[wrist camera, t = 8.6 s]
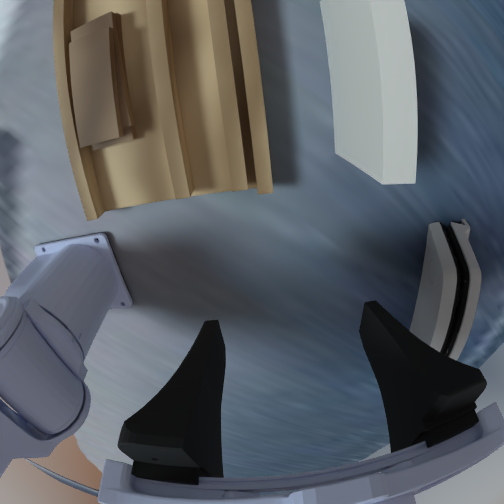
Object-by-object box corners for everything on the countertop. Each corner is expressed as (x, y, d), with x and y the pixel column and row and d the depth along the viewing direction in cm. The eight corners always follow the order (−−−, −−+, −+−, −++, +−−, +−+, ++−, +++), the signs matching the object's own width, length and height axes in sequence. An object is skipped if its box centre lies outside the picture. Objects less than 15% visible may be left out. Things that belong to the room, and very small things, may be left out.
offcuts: (95, 149, 18) (82, 155, 16) (79, 32, 13) (65, 28, 11) (140, 136, 17) (129, 141, 16) (125, 13, 12) (113, 6, 11)
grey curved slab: (437, 332, 30) (445, 396, 22) (405, 333, 32) (407, 399, 24) (465, 215, 22) (503, 275, 14) (424, 214, 23) (452, 277, 15)
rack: (99, 209, 21) (85, 222, 19) (68, -5, 11) (52, -11, 9) (270, 183, 20) (273, 194, 18) (239, -55, 10) (239, -71, 8)
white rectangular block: (334, 152, 19) (382, 184, 12) (319, 2, 13) (359, -42, 6) (359, 152, 19) (415, 183, 12) (345, 4, 13) (395, -33, 6)
